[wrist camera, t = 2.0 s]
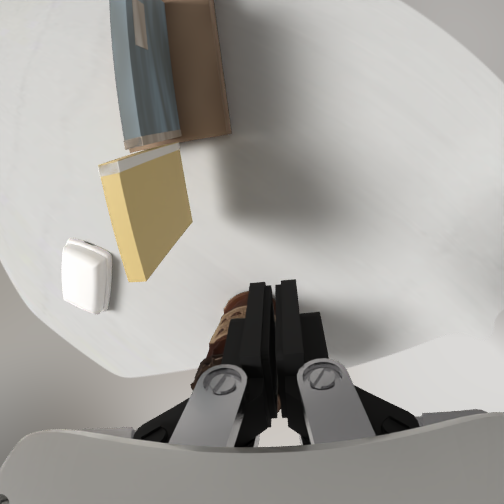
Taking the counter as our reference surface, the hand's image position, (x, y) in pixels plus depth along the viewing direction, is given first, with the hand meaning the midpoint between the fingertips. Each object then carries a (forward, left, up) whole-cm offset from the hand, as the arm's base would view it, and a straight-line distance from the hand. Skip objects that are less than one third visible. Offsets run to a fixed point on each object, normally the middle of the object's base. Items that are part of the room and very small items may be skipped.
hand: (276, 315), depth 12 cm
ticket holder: (+8, -13, -19) cm, 24 cm away
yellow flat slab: (+8, -3, -15) cm, 18 cm away
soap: (+24, +7, -20) cm, 32 cm away
